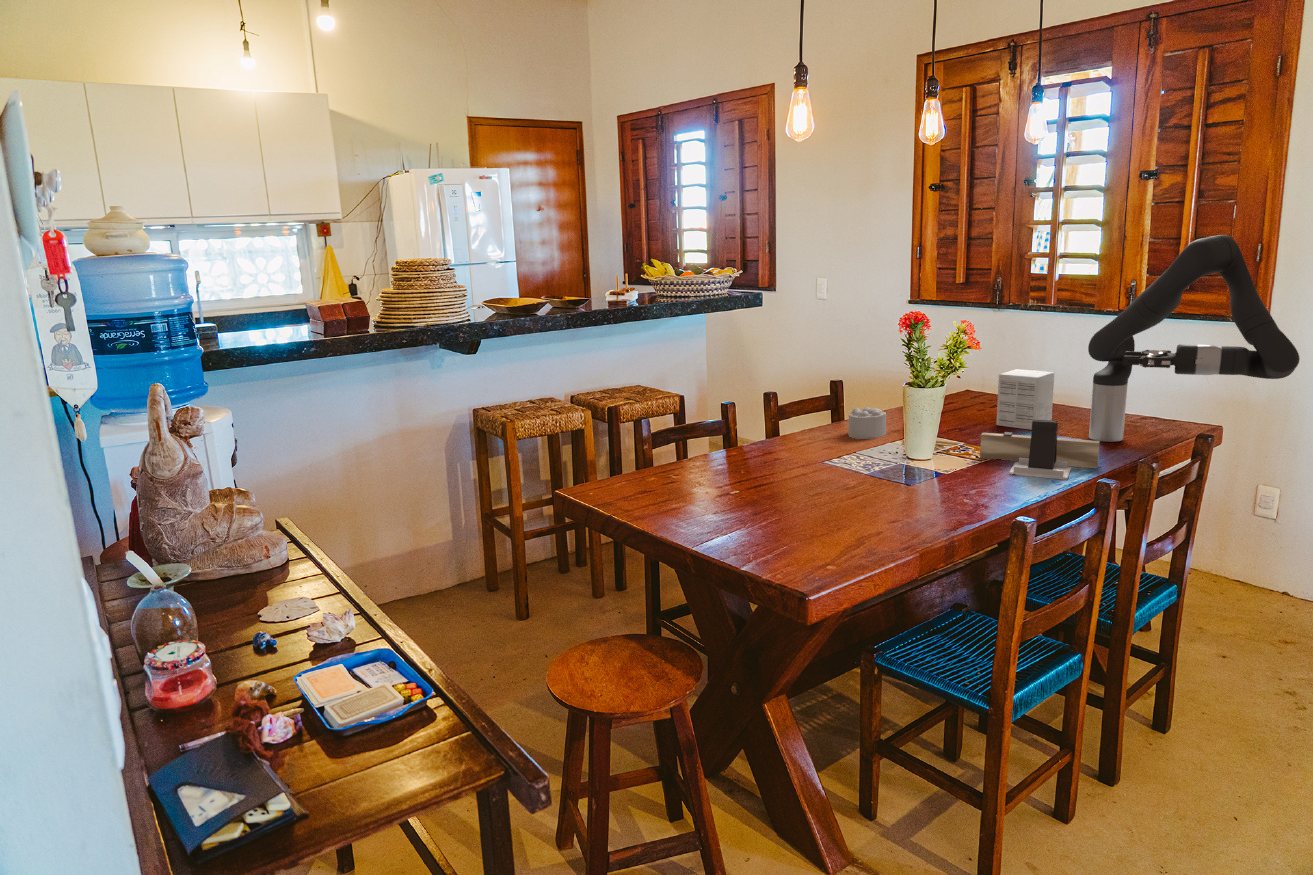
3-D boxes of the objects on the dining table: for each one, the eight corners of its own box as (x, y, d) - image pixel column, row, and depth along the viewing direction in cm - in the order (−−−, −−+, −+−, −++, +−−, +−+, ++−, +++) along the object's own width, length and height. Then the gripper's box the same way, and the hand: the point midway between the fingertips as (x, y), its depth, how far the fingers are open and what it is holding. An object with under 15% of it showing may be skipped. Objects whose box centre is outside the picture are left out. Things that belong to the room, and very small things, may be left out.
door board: (981, 455, 240) (982, 430, 238) (1097, 465, 225) (1099, 438, 223) (979, 458, 238) (981, 432, 236) (1097, 468, 223) (1099, 441, 221)
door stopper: (1032, 459, 227) (1035, 416, 224) (1056, 461, 224) (1059, 418, 221) (1027, 467, 219) (1030, 423, 216) (1052, 469, 216) (1055, 425, 213)
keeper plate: (1015, 464, 230) (1015, 456, 230) (1071, 469, 223) (1071, 461, 222) (1009, 474, 221) (1009, 466, 221) (1067, 479, 214) (1067, 471, 213)
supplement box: (1013, 418, 285) (1015, 368, 281) (1052, 423, 276) (1055, 371, 272) (995, 425, 277) (997, 373, 273) (1034, 430, 267) (1038, 377, 263)
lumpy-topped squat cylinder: (890, 433, 273) (890, 407, 271) (867, 441, 264) (868, 414, 262) (863, 429, 280) (863, 404, 278) (840, 436, 272) (840, 410, 270)
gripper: (1198, 341, 211) (1126, 340, 220) (1200, 348, 200) (1123, 347, 208) (1195, 370, 213) (1123, 368, 221) (1197, 379, 201) (1121, 376, 210)
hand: (1123, 357), depth 215 cm, fingers open, 8 cm apart
